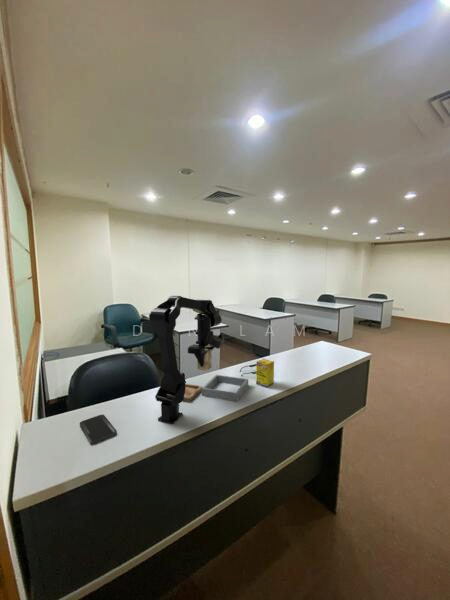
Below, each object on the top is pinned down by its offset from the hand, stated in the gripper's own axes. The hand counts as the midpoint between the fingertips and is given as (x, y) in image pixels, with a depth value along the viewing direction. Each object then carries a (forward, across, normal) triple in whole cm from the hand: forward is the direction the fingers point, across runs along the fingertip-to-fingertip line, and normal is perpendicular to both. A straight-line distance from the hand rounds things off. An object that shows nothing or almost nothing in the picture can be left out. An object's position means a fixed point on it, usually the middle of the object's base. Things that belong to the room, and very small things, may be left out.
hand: (204, 364), depth 107 cm
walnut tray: (+12, -4, +8) cm, 15 cm away
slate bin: (+12, +5, -8) cm, 15 cm away
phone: (+13, -36, +21) cm, 44 cm away
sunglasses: (+12, +28, -13) cm, 33 cm away
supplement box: (+12, +17, -23) cm, 31 cm away
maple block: (+2, 0, 0) cm, 2 cm away
